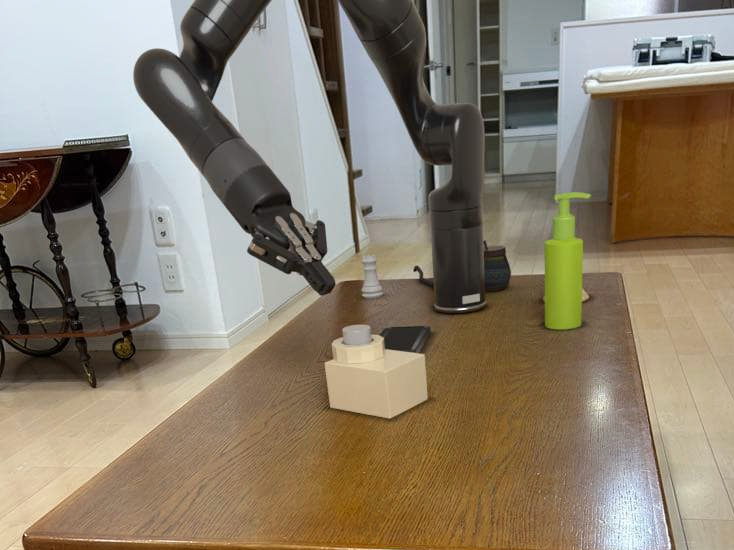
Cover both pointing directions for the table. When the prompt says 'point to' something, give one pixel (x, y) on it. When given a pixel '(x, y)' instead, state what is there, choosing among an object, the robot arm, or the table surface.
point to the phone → (405, 338)
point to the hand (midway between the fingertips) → (329, 290)
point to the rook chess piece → (370, 278)
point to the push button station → (375, 378)
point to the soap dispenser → (564, 269)
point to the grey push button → (357, 335)
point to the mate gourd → (496, 268)
